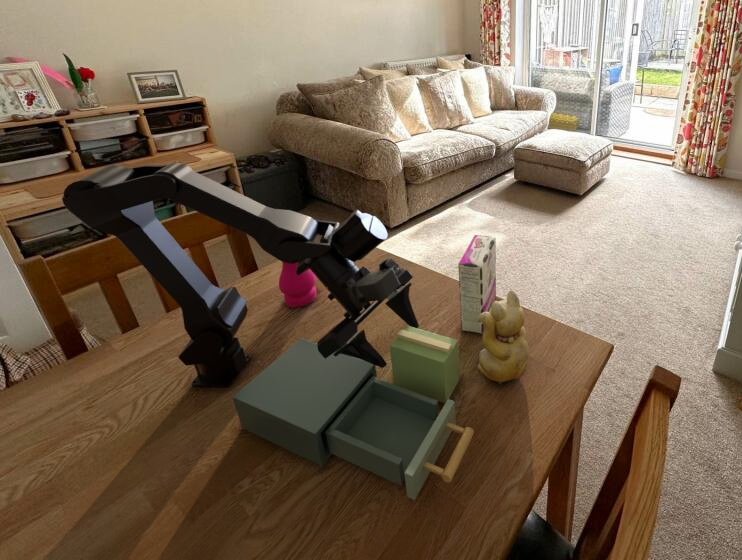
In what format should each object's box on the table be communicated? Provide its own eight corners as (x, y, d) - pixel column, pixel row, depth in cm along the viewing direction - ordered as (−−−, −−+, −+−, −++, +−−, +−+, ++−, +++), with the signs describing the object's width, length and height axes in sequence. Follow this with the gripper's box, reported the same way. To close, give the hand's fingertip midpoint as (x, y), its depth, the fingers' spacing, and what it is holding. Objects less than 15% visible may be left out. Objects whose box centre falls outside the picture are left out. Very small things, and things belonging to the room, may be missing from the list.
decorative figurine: (503, 342, 79) (505, 278, 73) (539, 362, 75) (543, 296, 69) (471, 375, 72) (470, 307, 66) (508, 400, 67) (511, 329, 62)
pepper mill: (309, 309, 86) (293, 227, 79) (276, 308, 86) (256, 226, 79) (324, 288, 93) (310, 211, 85) (293, 287, 93) (276, 210, 86)
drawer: (480, 433, 61) (480, 410, 59) (443, 514, 51) (441, 489, 49) (377, 393, 67) (374, 371, 65) (326, 459, 57) (321, 435, 55)
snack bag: (446, 404, 66) (443, 358, 63) (394, 385, 69) (389, 341, 66) (459, 380, 71) (458, 336, 67) (410, 363, 74) (406, 321, 70)
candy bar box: (475, 296, 92) (474, 233, 86) (496, 299, 91) (497, 236, 85) (459, 331, 81) (457, 262, 75) (483, 335, 81) (483, 266, 74)
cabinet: (379, 394, 68) (375, 364, 65) (322, 466, 57) (315, 434, 54) (307, 366, 73) (301, 337, 70) (242, 428, 62) (232, 397, 59)
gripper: (320, 289, 56) (394, 373, 56) (400, 228, 72) (457, 294, 73) (287, 319, 61) (355, 395, 62) (369, 256, 77) (421, 317, 78)
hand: (401, 346), depth 68 cm, fingers open, 9 cm apart
